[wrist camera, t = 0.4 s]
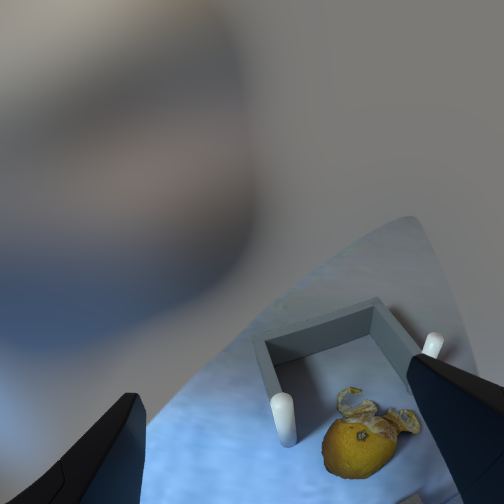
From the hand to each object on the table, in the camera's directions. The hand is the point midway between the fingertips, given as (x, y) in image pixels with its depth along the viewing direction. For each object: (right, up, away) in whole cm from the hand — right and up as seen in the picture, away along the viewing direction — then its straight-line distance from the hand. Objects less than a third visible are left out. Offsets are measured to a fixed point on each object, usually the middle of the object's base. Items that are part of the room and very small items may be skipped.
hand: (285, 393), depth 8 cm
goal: (+7, -7, +17) cm, 19 cm away
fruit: (+9, -11, +11) cm, 18 cm away
